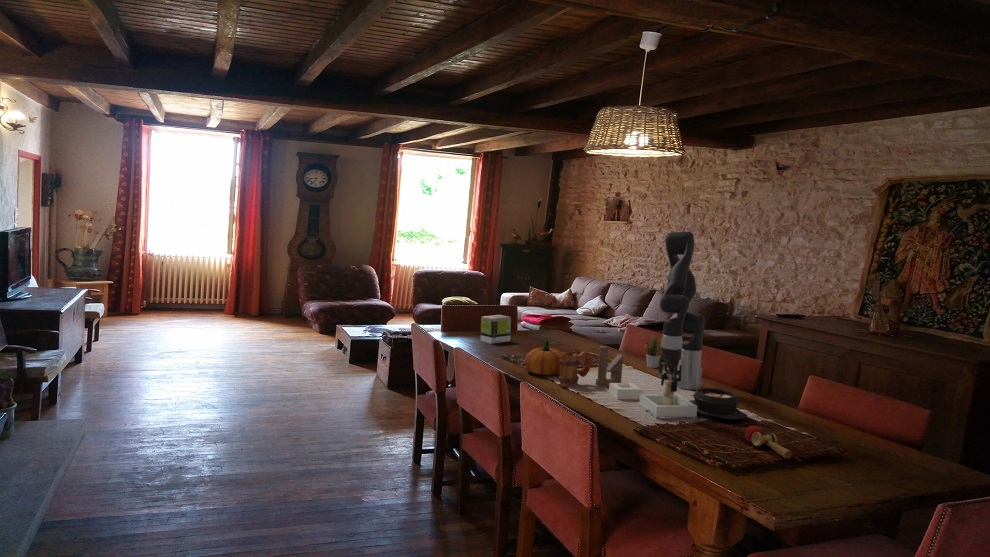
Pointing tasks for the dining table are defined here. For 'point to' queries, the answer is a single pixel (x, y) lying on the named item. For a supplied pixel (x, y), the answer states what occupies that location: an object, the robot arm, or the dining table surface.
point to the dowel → (667, 394)
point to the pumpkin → (544, 361)
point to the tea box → (495, 329)
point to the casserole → (717, 403)
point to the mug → (573, 368)
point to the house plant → (653, 353)
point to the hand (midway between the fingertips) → (668, 388)
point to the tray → (677, 410)
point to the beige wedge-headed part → (608, 368)
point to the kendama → (766, 440)
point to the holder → (624, 390)
